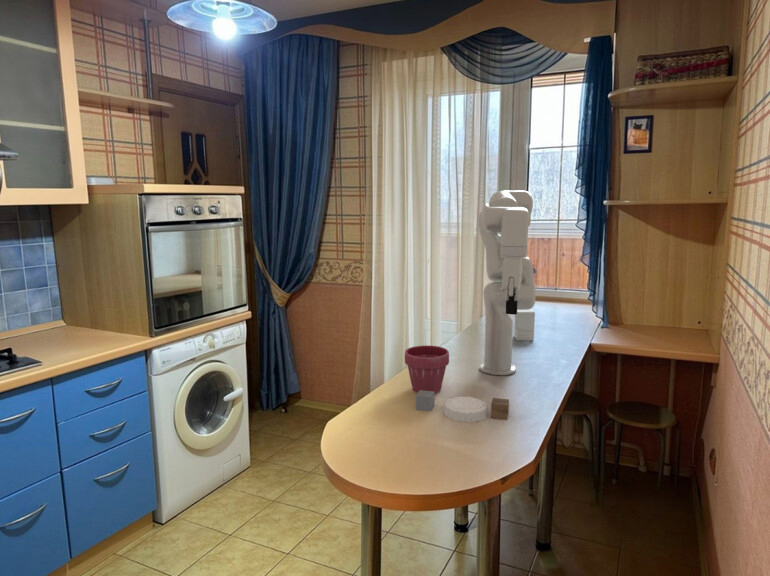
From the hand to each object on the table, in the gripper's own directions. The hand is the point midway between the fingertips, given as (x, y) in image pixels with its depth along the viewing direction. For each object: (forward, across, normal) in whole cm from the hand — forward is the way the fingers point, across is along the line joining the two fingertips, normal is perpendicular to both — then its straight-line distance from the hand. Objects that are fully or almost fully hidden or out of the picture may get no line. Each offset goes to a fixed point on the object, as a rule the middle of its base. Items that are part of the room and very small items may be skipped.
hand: (511, 313), depth 161 cm
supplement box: (+28, -74, 0) cm, 79 cm away
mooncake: (+27, +14, -11) cm, 33 cm away
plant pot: (+27, -2, -26) cm, 38 cm away
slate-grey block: (+27, +13, -23) cm, 38 cm away
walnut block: (+27, +13, -1) cm, 30 cm away
